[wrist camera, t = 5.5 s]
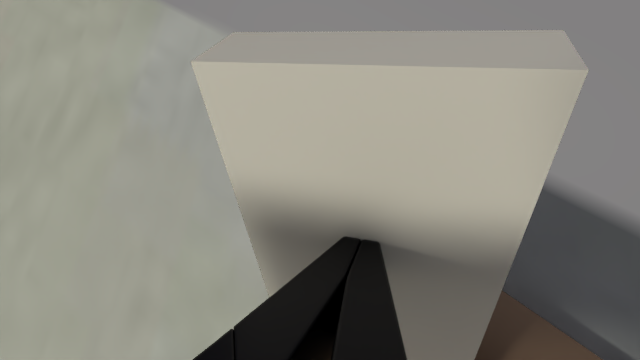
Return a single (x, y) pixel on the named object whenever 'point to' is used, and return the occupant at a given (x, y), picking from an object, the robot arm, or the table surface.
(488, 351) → the tile board
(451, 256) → the tile
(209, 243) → the table surface
